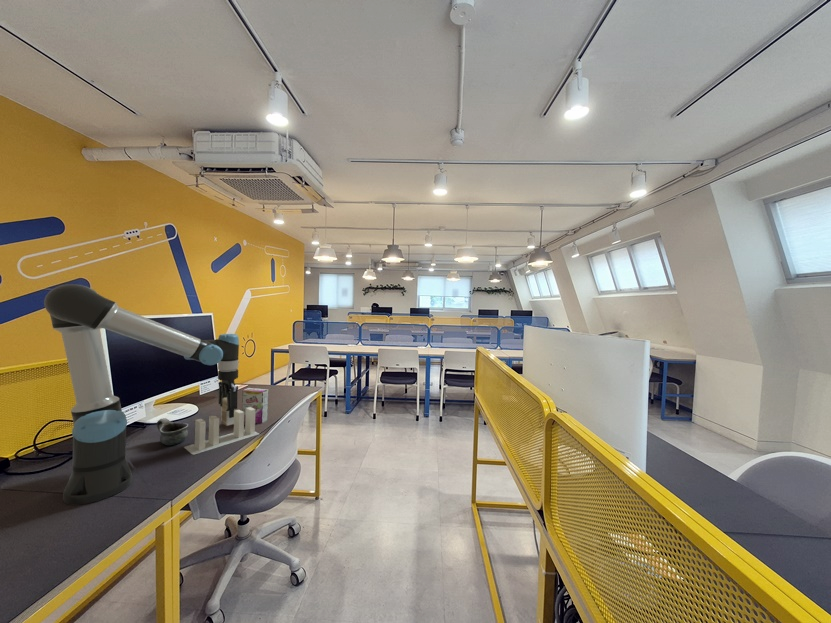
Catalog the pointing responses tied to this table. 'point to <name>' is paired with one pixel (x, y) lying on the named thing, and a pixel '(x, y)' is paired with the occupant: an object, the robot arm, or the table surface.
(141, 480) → the table surface
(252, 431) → the domino
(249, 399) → the candy bar box
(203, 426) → the domino
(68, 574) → the table surface
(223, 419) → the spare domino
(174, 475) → the table surface
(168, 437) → the mug
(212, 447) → the mat
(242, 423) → the domino
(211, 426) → the domino
